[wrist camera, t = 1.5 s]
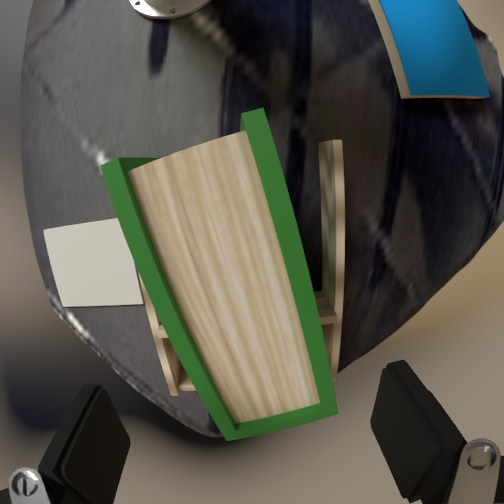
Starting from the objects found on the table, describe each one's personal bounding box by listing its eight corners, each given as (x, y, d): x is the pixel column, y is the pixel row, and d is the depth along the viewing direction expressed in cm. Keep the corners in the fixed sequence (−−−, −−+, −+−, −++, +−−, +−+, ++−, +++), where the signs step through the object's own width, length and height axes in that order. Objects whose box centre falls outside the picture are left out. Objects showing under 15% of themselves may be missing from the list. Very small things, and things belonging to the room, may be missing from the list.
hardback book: (186, 161, 35) (100, 165, 12) (246, 142, 34) (263, 107, 11) (230, 292, 40) (226, 440, 17) (284, 276, 39) (338, 413, 17)
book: (412, 96, 30) (352, -54, 22) (396, 100, 34) (344, -40, 26) (492, 97, 29) (441, -36, 21) (475, 99, 33) (428, -27, 26)
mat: (45, 229, 36) (43, 230, 35) (127, 216, 36) (126, 217, 36) (64, 305, 39) (63, 306, 39) (144, 302, 40) (143, 303, 39)
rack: (138, 159, 34) (117, 159, 27) (325, 142, 35) (345, 139, 28) (177, 369, 43) (170, 400, 36) (326, 356, 44) (338, 385, 37)
